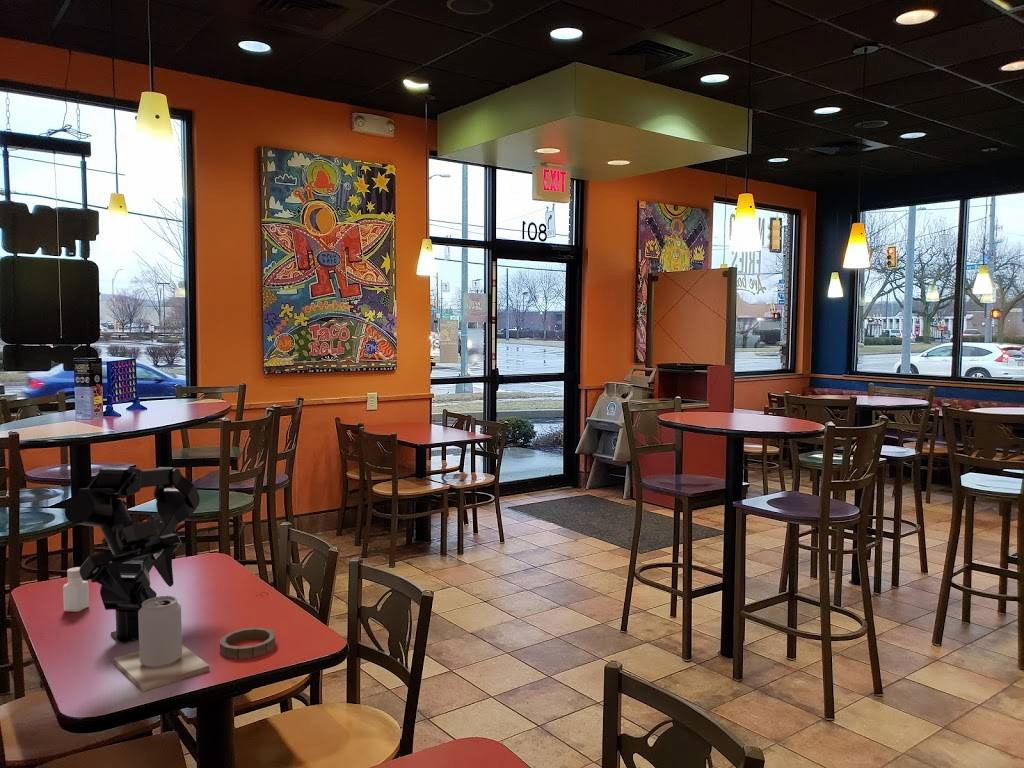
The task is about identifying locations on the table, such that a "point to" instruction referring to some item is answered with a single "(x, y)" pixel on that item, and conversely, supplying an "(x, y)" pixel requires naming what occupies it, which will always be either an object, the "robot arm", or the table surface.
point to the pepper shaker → (75, 591)
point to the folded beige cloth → (160, 669)
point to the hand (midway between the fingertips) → (150, 592)
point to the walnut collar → (247, 650)
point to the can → (160, 632)
